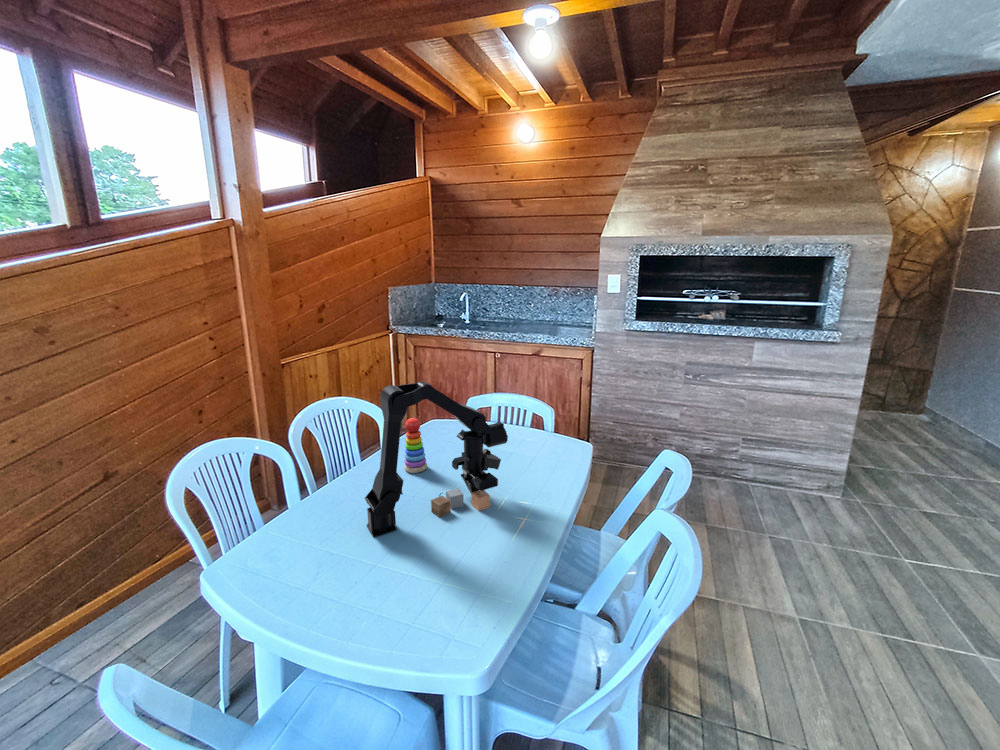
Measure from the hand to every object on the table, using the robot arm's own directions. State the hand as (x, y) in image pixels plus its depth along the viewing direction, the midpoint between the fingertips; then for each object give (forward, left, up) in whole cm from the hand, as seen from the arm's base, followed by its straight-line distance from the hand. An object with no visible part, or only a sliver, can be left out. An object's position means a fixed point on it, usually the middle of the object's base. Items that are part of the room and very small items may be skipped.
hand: (474, 497), depth 145 cm
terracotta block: (0, -4, -1) cm, 4 cm away
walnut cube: (-12, -1, -1) cm, 12 cm away
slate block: (-6, +1, -1) cm, 6 cm away
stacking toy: (-7, +30, -1) cm, 31 cm away
